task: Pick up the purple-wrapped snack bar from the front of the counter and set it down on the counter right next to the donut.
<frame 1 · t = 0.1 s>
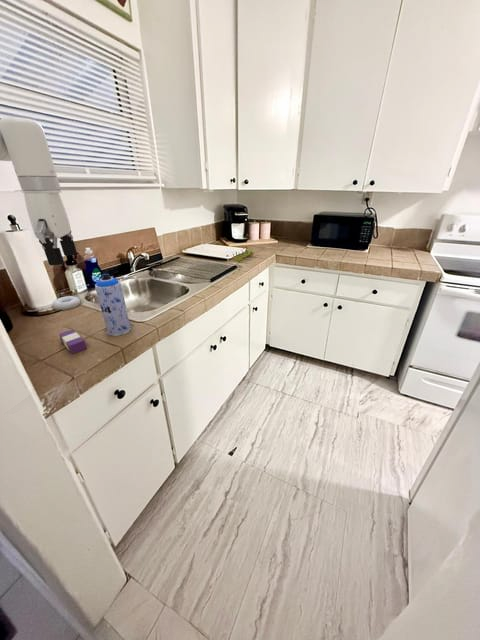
hand: (64, 259, 68), 27 cm above the table, tool pointing down, fingers open, 9 cm apart
blue water bottle: (119, 330, 90), on the table
snack bar: (74, 345, 81), on the table
donut: (68, 307, 107), on the table
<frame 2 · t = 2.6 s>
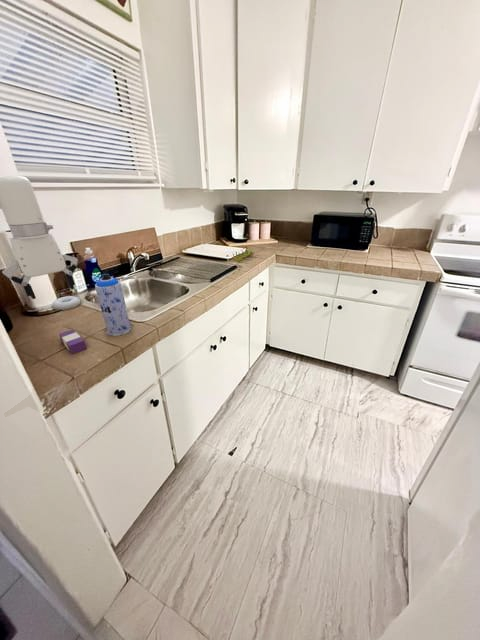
hand: (53, 292, 75), 17 cm above the table, tool pointing down, fingers open, 9 cm apart
nothing on the table moved.
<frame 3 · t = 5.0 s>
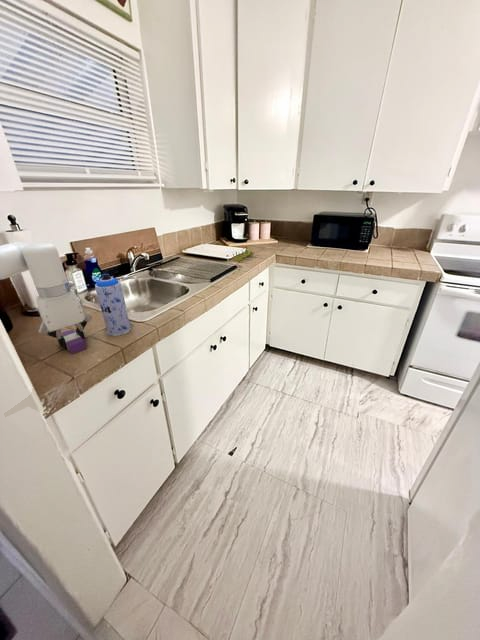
hand: (73, 343, 81), 1 cm above the table, tool pointing down, fingers closed on snack bar, 4 cm apart
snack bar: (74, 345, 81), on the table, touching gripper
everything else where it was.
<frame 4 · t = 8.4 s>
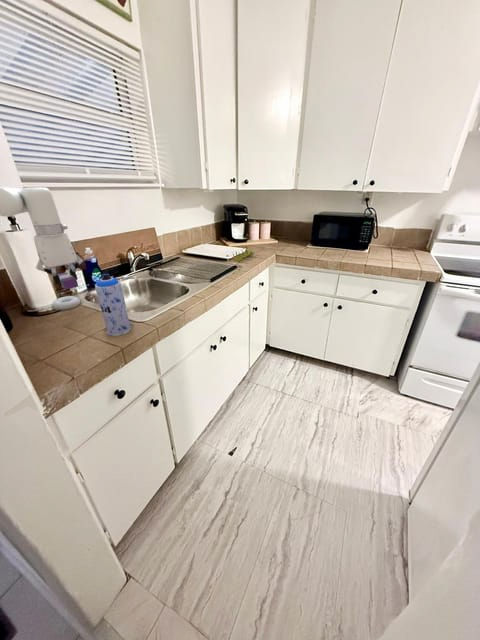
hand: (67, 283, 92), 13 cm above the table, tool pointing down, fingers closed on snack bar, 4 cm apart
snack bar: (67, 284, 92), point 13 cm above the table, touching gripper
everything else where it was.
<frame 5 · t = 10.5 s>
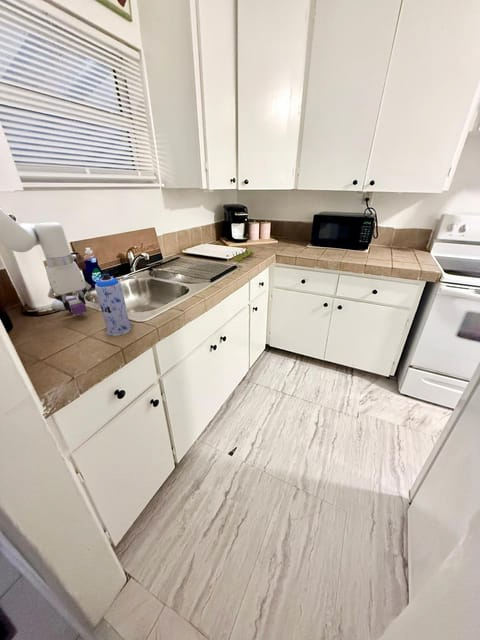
hand: (76, 308, 98), 3 cm above the table, tool pointing down, fingers closed on snack bar, 4 cm apart
snack bar: (76, 309, 98), point 3 cm above the table, touching gripper
everything else where it was.
when the fingers open (0 cm above the table, at t = 11.6 s): snack bar stays where it is, on the table.
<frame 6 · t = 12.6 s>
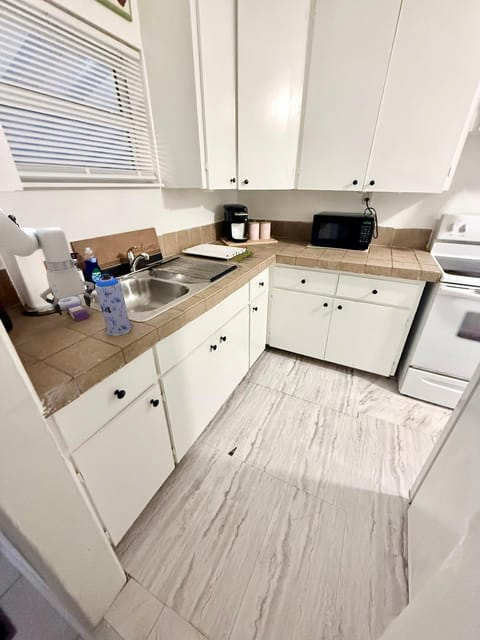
hand: (74, 309, 98), 3 cm above the table, tool pointing down, fingers open, 9 cm apart
snack bar: (78, 315, 99), on the table
everything else where it was.
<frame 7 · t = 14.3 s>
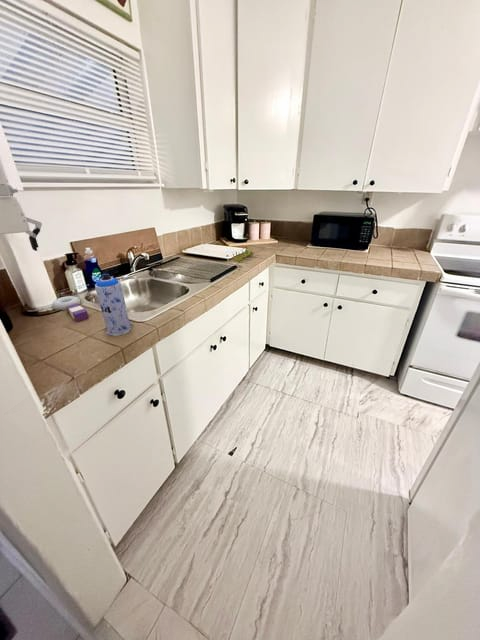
hand: (16, 252, 82), 26 cm above the table, tool pointing down, fingers open, 9 cm apart
nothing on the table moved.
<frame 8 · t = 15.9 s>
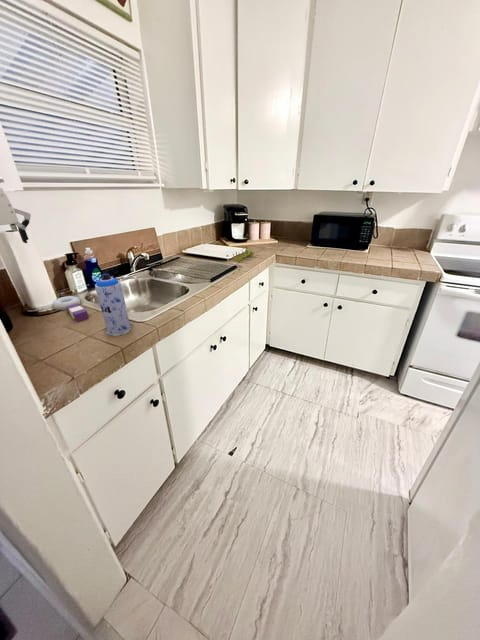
hand: (6, 244, 79), 28 cm above the table, tool pointing down, fingers open, 9 cm apart
nothing on the table moved.
at the end: snack bar 12.1 cm from the donut (horizontally); snack bar on the table; donut moved 0.2 cm from its start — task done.
